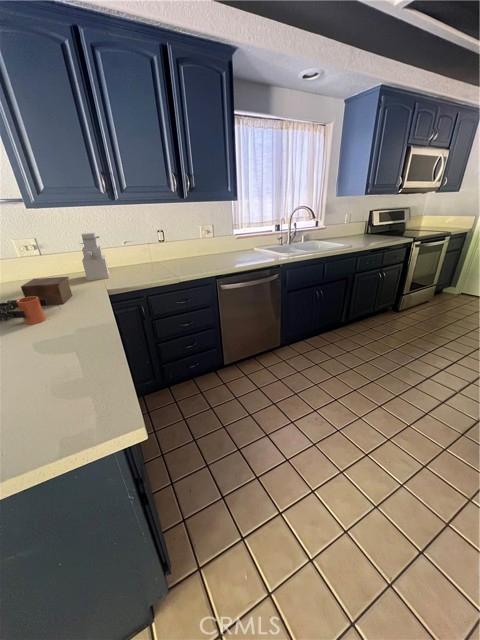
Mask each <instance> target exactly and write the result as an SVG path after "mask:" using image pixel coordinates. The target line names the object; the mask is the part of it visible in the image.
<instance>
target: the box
mask: <svg viewBox="0 0 480 640" xmlns="http://www.w3.org/2000/svg"><path fill="white" fill-rule="evenodd" d="M20 290H21V292H22V294H23V296H24V297H23V298H25V297H31V296H36V297H38V298H39V299H46V301H47V304H48V305H41V306H42V307H49V306H59V305H64V304H66V303H67V302H68V301H69V300H70V299H71V298H72V297H73V293H72V290H71V286H70V283H69V278H68V279H67V280H66V281H64V282H63V283H62V284H61V285H57V286H43V287H29V288H21V287H20Z"/></svg>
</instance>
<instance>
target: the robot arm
mask: <svg viewBox="0 0 480 640" xmlns="http://www.w3.org/2000/svg"><path fill="white" fill-rule="evenodd" d="M17 300H18V299H9V300H6V302H0V322H2V321H3V320H4V322H5V321H9V319H23V318H26V314H25V312H24V311H20V310H16V309H19V308H18V305H17V302H16V301H17ZM39 301H40V304H41V305H48V304H47V301H46V299H39Z"/></svg>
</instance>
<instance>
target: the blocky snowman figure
mask: <svg viewBox="0 0 480 640" xmlns="http://www.w3.org/2000/svg"><path fill="white" fill-rule="evenodd" d="M81 239H82V242H81V243H79V245H83V247H82V249H81V251H82V255H83V258H82V260H81V262H82V265H83V270H84V274H85V277H86V281H87V282H88V281H95V280H103V279H104V280H105V279H110V271H109V268H108V262H107V259H106V255H104V254H103V251H102V246H101V245H98V240H97V239H100V236H99V235H97V236H96V233H95V232H87V233H81Z"/></svg>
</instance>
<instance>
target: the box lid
mask: <svg viewBox="0 0 480 640" xmlns="http://www.w3.org/2000/svg"><path fill="white" fill-rule="evenodd" d="M69 278H70V277H69V276H57V277H40V278H32V279H31V280H29V281H27V282H26V283H23V284H22V285H21V286H20V289H21V288H29V287H43V286H57V285H61V284H62V283H63V282H64V281H66V280H67V279H68V280H69Z"/></svg>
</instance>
